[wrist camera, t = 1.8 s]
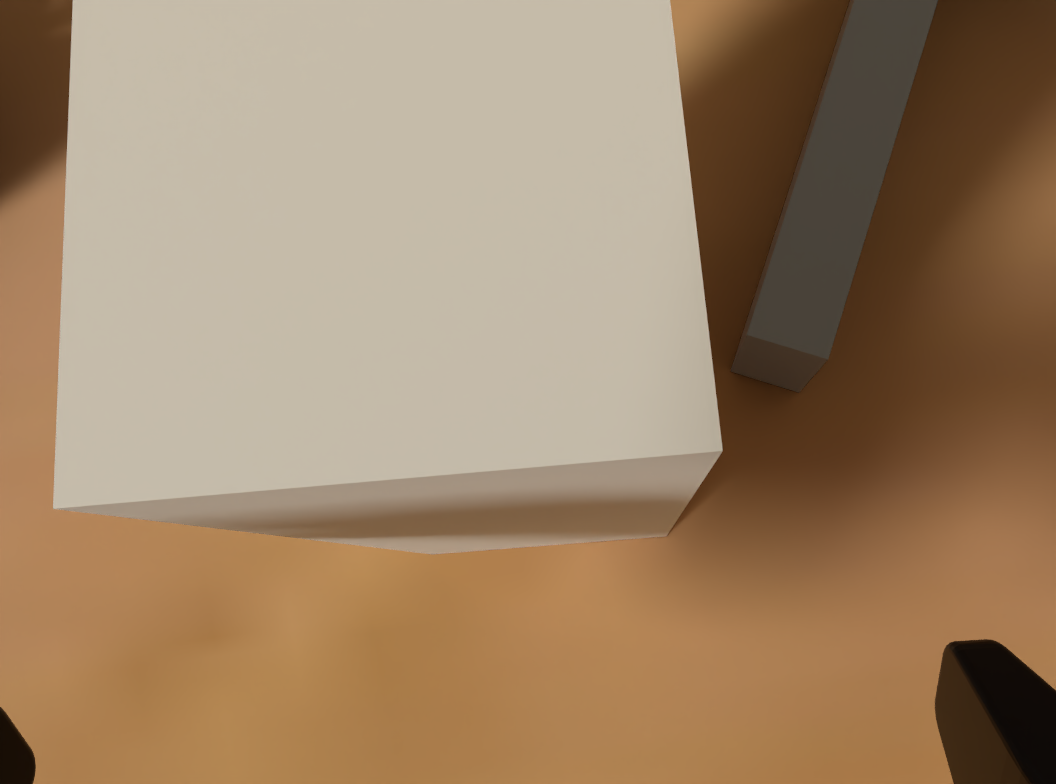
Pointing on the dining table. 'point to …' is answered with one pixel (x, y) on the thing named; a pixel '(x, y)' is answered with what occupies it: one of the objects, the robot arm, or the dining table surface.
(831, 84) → the frame
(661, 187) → the post
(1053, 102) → the dining table surface
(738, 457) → the dining table surface
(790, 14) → the dining table surface
